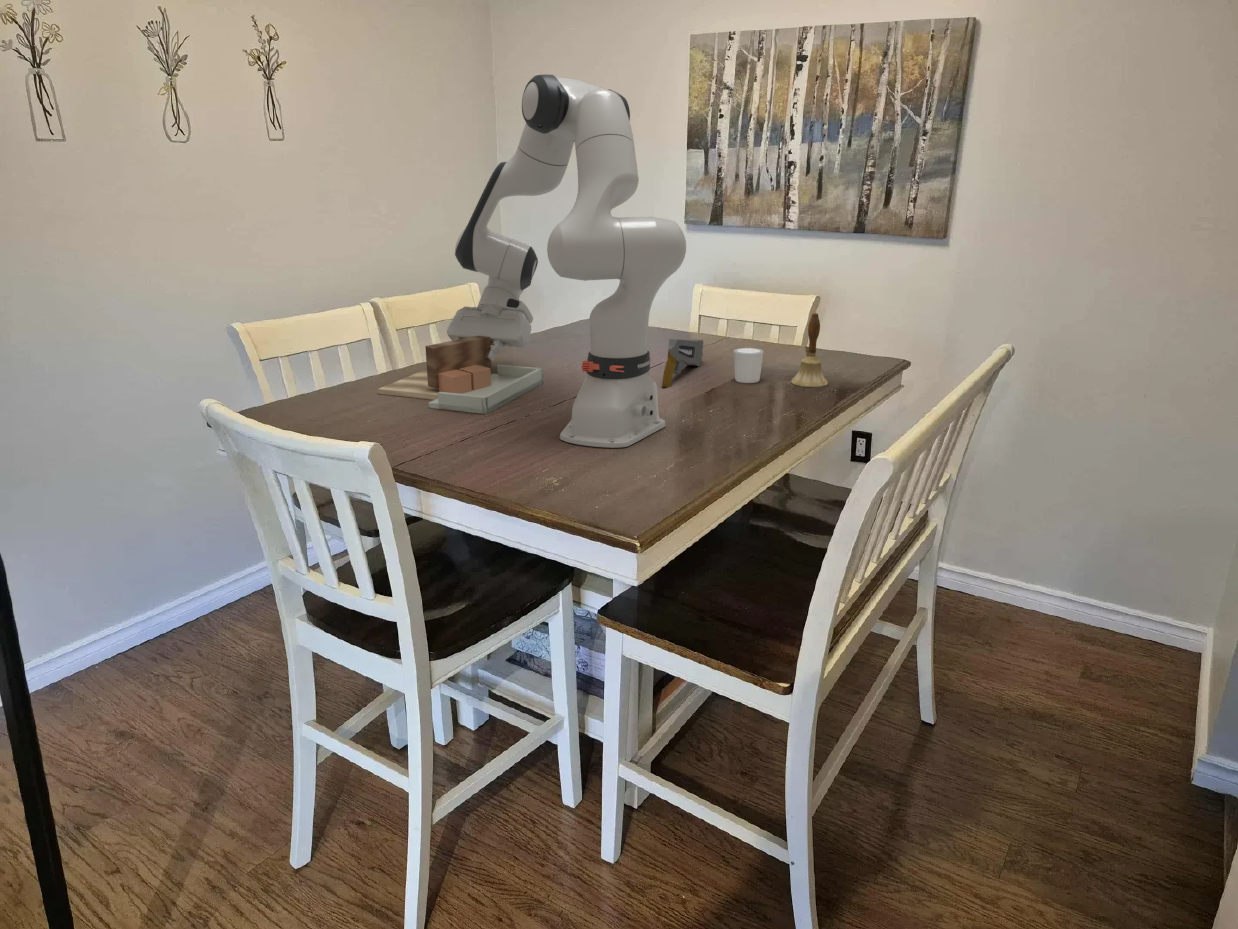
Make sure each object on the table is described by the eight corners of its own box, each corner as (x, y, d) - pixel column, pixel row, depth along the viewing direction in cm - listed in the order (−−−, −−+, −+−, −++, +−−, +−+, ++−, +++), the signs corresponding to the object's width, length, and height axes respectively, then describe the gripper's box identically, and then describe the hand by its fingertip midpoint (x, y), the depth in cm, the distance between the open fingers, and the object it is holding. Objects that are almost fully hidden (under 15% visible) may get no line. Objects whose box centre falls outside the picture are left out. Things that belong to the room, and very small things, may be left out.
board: (445, 401, 181) (444, 395, 180) (378, 393, 187) (378, 388, 186) (491, 378, 198) (491, 373, 198) (429, 372, 204) (429, 367, 204)
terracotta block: (453, 395, 180) (452, 377, 179) (439, 391, 183) (438, 373, 182) (471, 390, 184) (470, 373, 182) (457, 386, 187) (456, 369, 185)
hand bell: (831, 380, 192) (836, 311, 187) (823, 389, 185) (829, 317, 180) (795, 376, 196) (800, 309, 190) (787, 385, 189) (791, 315, 183)
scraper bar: (436, 388, 183) (433, 348, 179) (428, 385, 184) (425, 346, 181) (491, 375, 194) (490, 336, 191) (483, 372, 196) (481, 334, 193)
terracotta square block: (474, 390, 184) (473, 372, 183) (459, 386, 187) (458, 368, 186) (491, 385, 188) (490, 368, 186) (476, 381, 191) (475, 364, 189)
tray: (486, 414, 171) (485, 397, 170) (428, 407, 176) (427, 391, 175) (543, 382, 194) (542, 368, 192) (491, 377, 199) (490, 363, 197)
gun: (698, 399, 210) (706, 340, 209) (669, 387, 186) (677, 320, 186) (686, 398, 211) (694, 339, 211) (655, 385, 188) (664, 319, 187)
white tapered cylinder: (763, 377, 196) (765, 347, 193) (760, 384, 190) (761, 354, 187) (734, 375, 198) (735, 346, 195) (730, 382, 191) (731, 352, 189)
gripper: (453, 298, 197) (433, 347, 192) (529, 302, 190) (511, 354, 185) (464, 314, 203) (446, 362, 198) (539, 318, 195) (522, 369, 190)
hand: (478, 358), depth 191 cm, fingers closed on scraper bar, 4 cm apart
